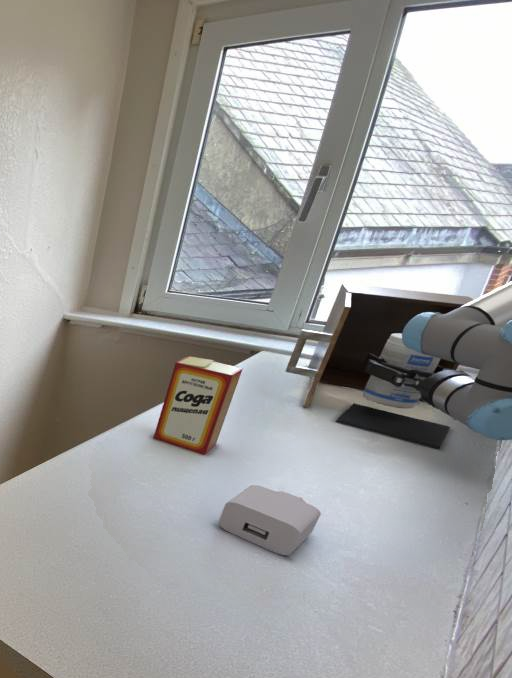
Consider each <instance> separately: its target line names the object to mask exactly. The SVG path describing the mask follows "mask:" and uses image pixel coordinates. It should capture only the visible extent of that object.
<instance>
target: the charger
mask: <svg viewBox="0 0 512 678" xmlns="http://www.w3.org/2000/svg"><path fill="white" fill-rule="evenodd" d="M320 517H321V511H320V510H319V509H318V507H316V506H315V505H313V504H310V503H307V502H306V500H304V499H303V498H302V497H299V496H296V495H294V494H292V493H289V492H286V491H284V490H283V491H281V490H280V491H279V490H276V491H275V490H273V489H270V488H267V487H265V486H262V485H257V484H252V485H249V486H248V487H246V488H245V489H243V490H242V491H241V492H239V493H238V494H237V495H236V496H234V497H232V498H231V499H229V501H227V502H226V503H224V506H223V509H222V511H221V514H220V518H219V519H218V525H219V527H220V528H222V530H224V531H226V532H228V533H230V534H232V535H235V536H237V537H239V538H242V539H244V540H246V541H248V542H250V543H253V544H254V545H257V546H260V547H261V548H263V549H266V550H268V551H271V552H273V553H275V554H278V555H282V556H290V555H291V554H292V553H293V552H294V551H295V550H296V549H297V548H298V547H300V545H301V544H302V543H303V542H304V541H305V540H306V539H307V538H309V536H310V535H311V534H312V533H313V531H314V529H315V527H316V525H317V523H318V521H319V518H320Z"/></svg>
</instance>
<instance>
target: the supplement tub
mask: <svg viewBox="0 0 512 678" xmlns="http://www.w3.org/2000/svg"><path fill="white" fill-rule="evenodd" d="M379 358H384V360H385V361H387V362H386V363H388V364H391V365H395V366H398V367H401V368H405V369H408V370H414V369H417V370H421V371H424V372H432V373H433V372H434V371H435V369H436V367H437V365H438V363H439V361H440V358H437V357H433V356H429V355H424V354H422V353H420V352H417V351H414V350H412V349H409V348H407V347H406V346H405V345H404V344H403V342H402V334H400V333H395V334H391V336H390V338H389V339H388V340H387V342H386V344H385V346H384V348H383V351H382V353H381V355H380V357H379ZM417 375H419V374H416V376H417ZM362 396H363V398H364V399H365V400H367V401H369V402H372V403H375V404H378V405H381V406H386V407H390V408H395V409H412V408H414V407H416V406H417V405H418V403H419V402H420V401H419V399H420V397H421V394H420V391H417V390H416V389H415V388H412V387H409V386H406V385H404V384H402V386H401V387H397V386H395V385H393V384H391V383H390V382H387V381H385V380H383V379H380V378H378V377H375V376H373V375H371V376H370V378H369V380H368V383H367V385H366V387H365V389H364V391H362Z"/></svg>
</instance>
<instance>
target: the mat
mask: <svg viewBox="0 0 512 678" xmlns="http://www.w3.org/2000/svg"><path fill="white" fill-rule="evenodd" d="M335 422H336V423H339V424H342V425H346V426H349V427H354V428H357V429H361V430H365V431H369V432H373V433H375V434H381V435H383V436H387V437H391V438H395V439H398V440H402V441H407V442H411V443H413V444H418V445H421V446H424V447H429V448H433V449H436V450H440V448H441V447H442V444H443V442H444V440H445V438H446V436H447V435H448V433H449V430H450V428H451V426H449V425H445V424H441V423H437V422H433V421H429V420H424V419H420V418H416V417H413V416H408V415H404V414H400V413H396V412H392V411H388V410H383V409H379V408H375V407H371V406H367V405H363V404H359V403H352V404H351V405H350V406H348V408H347V409H346V410H345V411H344V412H343V413H342V414H341V415H340V416H338V417H337V419H335Z"/></svg>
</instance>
